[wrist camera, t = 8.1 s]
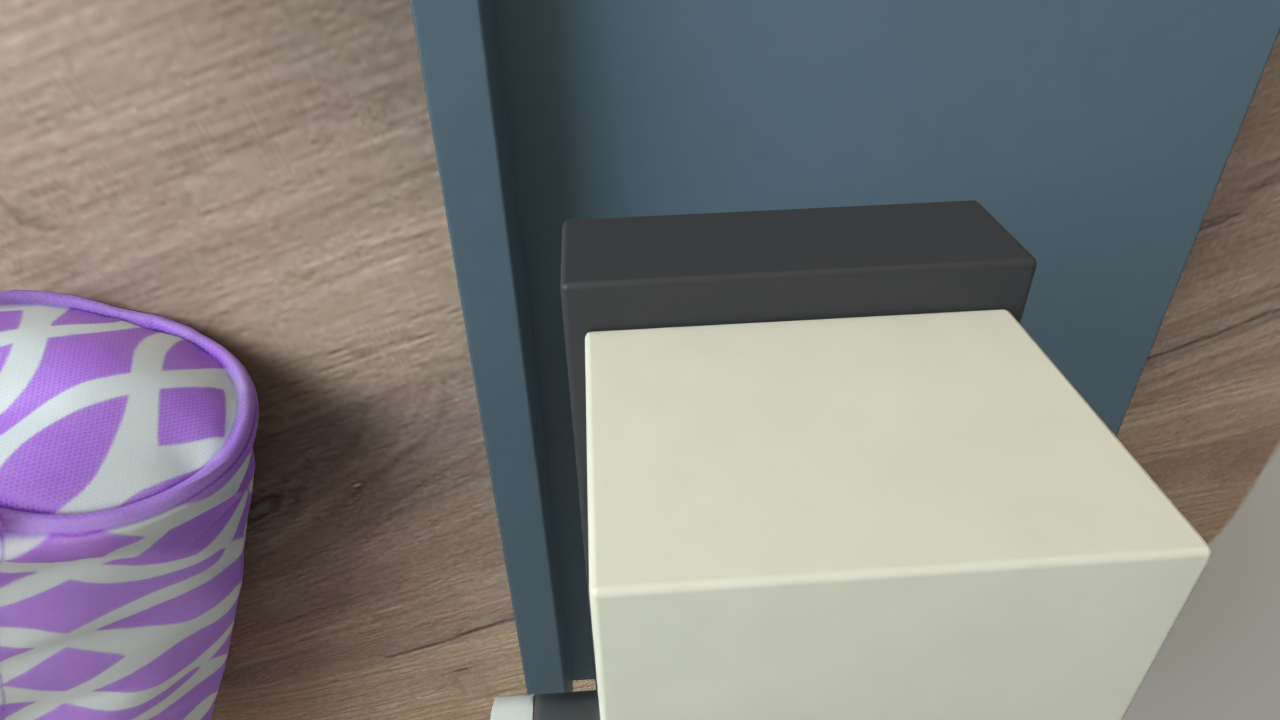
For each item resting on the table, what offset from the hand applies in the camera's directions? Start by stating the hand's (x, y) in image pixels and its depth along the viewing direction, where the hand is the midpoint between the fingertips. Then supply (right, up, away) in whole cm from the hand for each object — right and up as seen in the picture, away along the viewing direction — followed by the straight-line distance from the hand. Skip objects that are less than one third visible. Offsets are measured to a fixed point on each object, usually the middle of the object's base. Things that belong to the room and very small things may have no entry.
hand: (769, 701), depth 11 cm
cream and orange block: (0, +1, +2) cm, 2 cm away
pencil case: (-19, -1, +17) cm, 26 cm away
